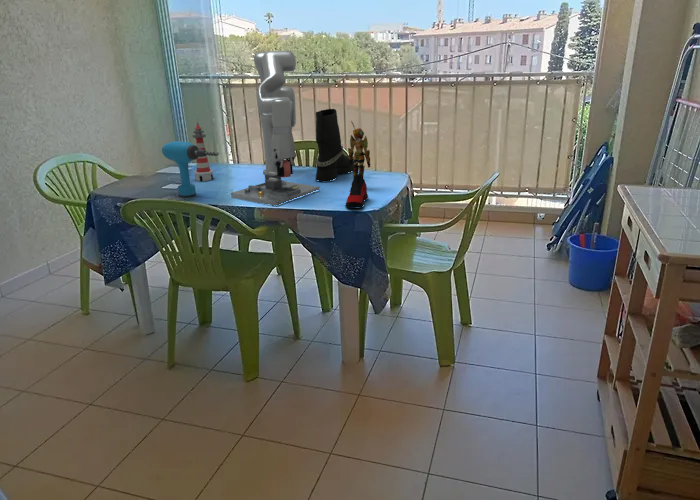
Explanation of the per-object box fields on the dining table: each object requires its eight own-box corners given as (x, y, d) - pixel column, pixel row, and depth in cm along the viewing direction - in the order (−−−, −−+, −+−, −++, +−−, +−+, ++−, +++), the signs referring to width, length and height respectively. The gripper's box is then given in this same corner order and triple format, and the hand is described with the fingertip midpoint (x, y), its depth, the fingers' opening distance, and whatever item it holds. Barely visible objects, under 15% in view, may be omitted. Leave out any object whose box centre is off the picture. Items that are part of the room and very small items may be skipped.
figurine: (373, 188, 229) (373, 119, 218) (366, 192, 223) (366, 122, 212) (352, 185, 234) (351, 118, 223) (345, 189, 228) (343, 120, 217)
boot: (360, 170, 267) (362, 105, 255) (329, 185, 238) (329, 112, 225) (339, 167, 272) (340, 103, 260) (306, 181, 242) (306, 110, 230)
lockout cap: (293, 175, 213) (292, 160, 211) (285, 177, 210) (284, 161, 207) (285, 174, 216) (283, 158, 213) (277, 176, 212) (276, 160, 210)
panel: (276, 183, 240) (275, 176, 239) (319, 191, 226) (319, 183, 225) (231, 197, 219) (230, 189, 218) (275, 206, 205) (275, 198, 203)
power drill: (229, 196, 220) (223, 142, 212) (216, 201, 213) (210, 145, 204) (176, 191, 230) (169, 139, 222) (163, 196, 223) (155, 142, 214)
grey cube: (273, 188, 224) (273, 176, 222) (282, 189, 221) (281, 177, 219) (265, 190, 220) (264, 178, 218) (274, 192, 218) (273, 180, 216)
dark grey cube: (273, 182, 234) (272, 170, 233) (281, 183, 232) (280, 172, 230) (265, 184, 231) (264, 173, 229) (273, 185, 228) (272, 174, 226)
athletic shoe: (342, 211, 198) (341, 181, 193) (351, 197, 216) (351, 169, 212) (361, 212, 196) (361, 181, 192) (369, 197, 215) (369, 169, 211)
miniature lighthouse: (217, 177, 255) (210, 115, 244) (210, 181, 246) (203, 118, 235) (199, 177, 256) (191, 115, 245) (192, 181, 247) (183, 118, 236)
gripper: (289, 127, 215) (292, 170, 221) (260, 132, 202) (264, 178, 208) (303, 128, 210) (305, 172, 217) (274, 134, 198) (277, 180, 204)
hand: (285, 174), depth 213 cm, fingers closed on lockout cap, 4 cm apart
